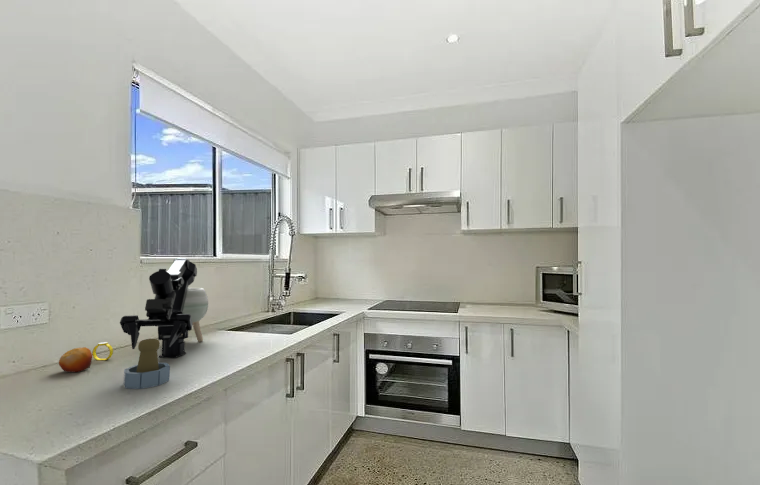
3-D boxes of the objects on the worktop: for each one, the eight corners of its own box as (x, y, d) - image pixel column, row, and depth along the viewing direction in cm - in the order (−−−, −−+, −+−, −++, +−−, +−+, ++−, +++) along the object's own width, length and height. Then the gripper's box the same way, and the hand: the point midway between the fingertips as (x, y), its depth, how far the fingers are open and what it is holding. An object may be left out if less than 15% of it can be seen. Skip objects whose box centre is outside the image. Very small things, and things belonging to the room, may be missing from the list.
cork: (140, 383, 99) (142, 342, 99) (130, 378, 102) (132, 339, 103) (163, 377, 104) (165, 338, 104) (153, 373, 107) (155, 336, 108)
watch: (90, 362, 123) (90, 344, 123) (96, 359, 125) (96, 342, 126) (109, 360, 123) (108, 343, 123) (114, 358, 126) (114, 341, 126)
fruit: (104, 362, 116) (91, 343, 113) (80, 381, 110) (66, 362, 106) (87, 359, 119) (74, 341, 116) (63, 378, 112) (48, 359, 109)
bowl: (114, 387, 98) (114, 372, 98) (143, 375, 108) (143, 361, 109) (150, 389, 97) (151, 374, 97) (176, 376, 108) (176, 363, 108)
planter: (174, 338, 158) (176, 287, 159) (212, 338, 160) (214, 287, 161) (155, 347, 142) (157, 290, 143) (197, 347, 144) (199, 290, 145)
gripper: (123, 289, 109) (106, 333, 98) (192, 288, 114) (182, 330, 103) (131, 311, 116) (116, 355, 105) (196, 309, 121) (187, 351, 110)
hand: (151, 347), depth 106 cm, fingers open, 9 cm apart
